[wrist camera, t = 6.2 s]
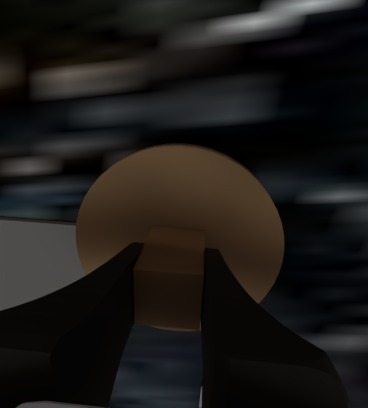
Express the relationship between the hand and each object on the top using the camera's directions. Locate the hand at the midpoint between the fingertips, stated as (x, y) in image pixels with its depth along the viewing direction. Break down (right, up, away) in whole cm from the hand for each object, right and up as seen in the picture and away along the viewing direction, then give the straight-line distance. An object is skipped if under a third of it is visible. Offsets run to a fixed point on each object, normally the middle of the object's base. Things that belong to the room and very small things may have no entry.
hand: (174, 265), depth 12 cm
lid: (0, +1, +2) cm, 2 cm away
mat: (-10, -3, +8) cm, 13 cm away
